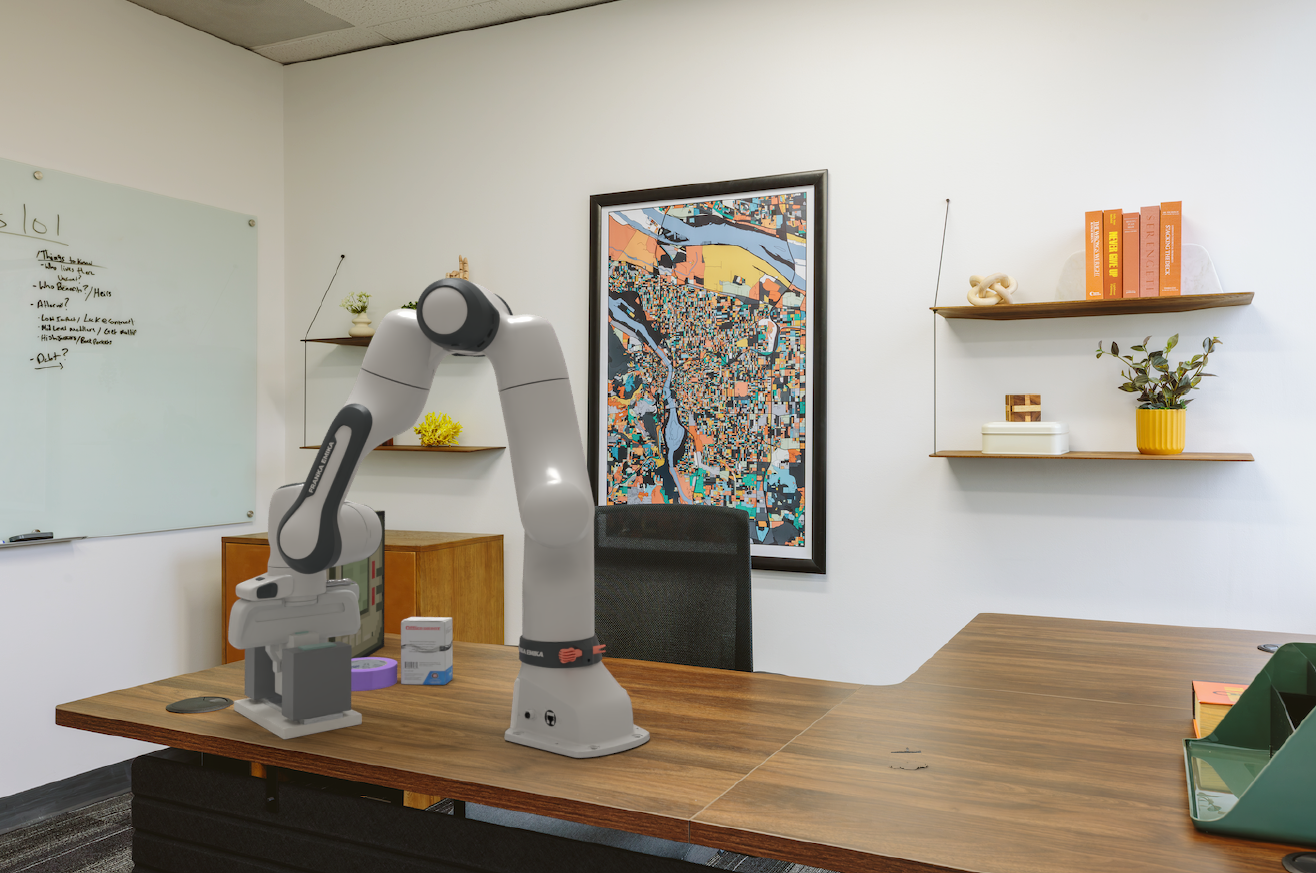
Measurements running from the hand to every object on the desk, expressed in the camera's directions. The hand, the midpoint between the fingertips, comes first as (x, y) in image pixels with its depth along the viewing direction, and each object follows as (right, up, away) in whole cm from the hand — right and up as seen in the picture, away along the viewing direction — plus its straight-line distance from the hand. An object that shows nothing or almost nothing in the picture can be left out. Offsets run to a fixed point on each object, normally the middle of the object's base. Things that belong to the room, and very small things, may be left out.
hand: (296, 669), depth 149 cm
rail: (0, -6, 0) cm, 6 cm away
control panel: (-7, -9, +41) cm, 43 cm away
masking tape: (+4, -9, +22) cm, 24 cm away
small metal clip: (+92, -7, -26) cm, 95 cm away
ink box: (+15, -8, +23) cm, 29 cm away
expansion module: (0, -4, 0) cm, 4 cm away
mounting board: (0, -8, 0) cm, 8 cm away
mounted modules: (0, -5, 0) cm, 5 cm away
